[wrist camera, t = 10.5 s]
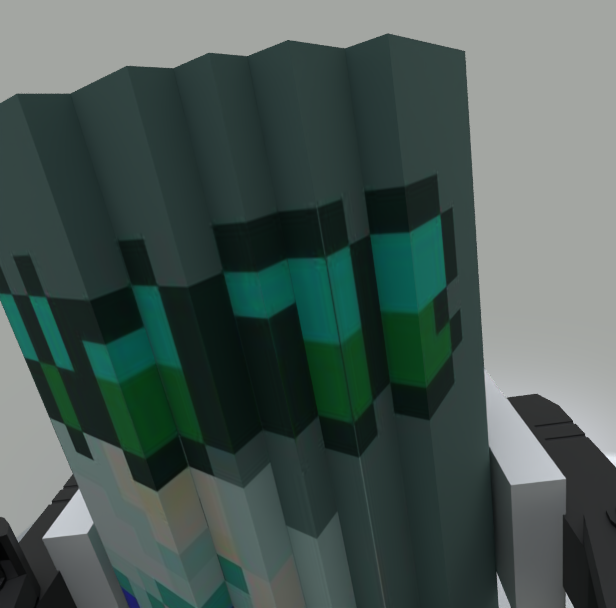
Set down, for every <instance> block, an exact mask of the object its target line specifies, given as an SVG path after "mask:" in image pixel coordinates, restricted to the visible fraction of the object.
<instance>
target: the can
mask: <svg viewBox="0 0 616 608" xmlns="http://www.w3.org/2000/svg"><path fill="white" fill-rule="evenodd" d="M0 301H1V303H2V306H3V308H4V310H5V313H6V315H7V317H8V320H9V322H10V325H11V327H12V329H13V332H14V334H15V337H16V339H17V341H18V343H19V346H20V348H21V351H22V353H23V356H24V358H25V360H26V363H27V365H28V368H29V370H30V372H31V375H32V377H33V379H34V382H35V384H36V387H37V389H38V391H39V394H40V396H41V399H42V401H43V403H44V406H45V408H46V410H47V413H48V415H49V417H50V420H51V422H52V425H53V427H54V430H55V432H56V434H57V437H58V439H59V441H60V444H61V446H62V449H63V451H64V453H65V456H66V458H67V461H68V463H69V465H70V468H71V470H72V472H73V475H74V477H75V480H76V482H77V484H78V487H79V489H80V492H81V494H82V496H83V499H84V501H85V503H86V506H87V508H88V511H89V513H90V515H91V518H92V520H93V523H94V525H95V527H96V530H97V532H98V534H99V537H100V539H101V542H102V544H103V546H104V549H105V551H106V554H107V556H108V558H109V561H110V563H111V565H112V568H113V570H114V573H115V575H116V577H117V580H118V582H119V585H120V587H121V589H122V592H123V594H124V596H125V599H126V601H127V604H128V606H129V608H499V607H498V590H497V574H496V557H495V541H494V524H493V507H492V491H491V474H490V458H489V441H488V425H487V408H486V391H485V375H484V359H483V342H482V326H481V309H480V293H479V275H478V260H477V243H476V226H475V209H474V193H473V177H472V160H471V143H470V127H469V110H468V93H467V77H466V61H465V51H462V50H458V49H453V48H449V47H444V46H440V45H436V44H431V43H427V42H422V41H418V40H414V39H410V38H405V37H401V36H396V35H392V34H385V35H382V36H380V37H376V38H374V39H371V40H368V41H365V42H362V43H360V44H356V45H354V46H351V47H348V48H338V47H331V46H324V45H317V44H310V43H304V42H297V41H290V40H287V41H285V42H282V43H280V44H277V45H275V46H272V47H270V48H267V49H265V50H262V51H259V52H257V53H254V54H252V55H249V56H238V55H227V54H215V53H207V54H205V55H203V56H200V57H198V58H196V59H194V60H191V61H189V62H187V63H184V64H182V65H180V66H178V67H175V68H157V67H136V66H126V67H124V68H122V69H120V70H118V71H116V72H113V73H111V74H109V75H107V76H105V77H103V78H101V79H99V80H97V81H95V82H93V83H91V84H89V85H87V86H85V87H83V88H81V89H79V90H77V91H75V92H73V93H71V94H16V95H14V96H12V97H11V98H9V99H7V100H5V101H3V102H2V103H0Z"/></svg>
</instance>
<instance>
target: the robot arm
mask: <svg viewBox="0 0 616 608" xmlns="http://www.w3.org/2000/svg"><path fill="white" fill-rule="evenodd" d="M484 375H485V391H486V408H487V425H488V441H489V458H490V474H491V491H492V507H493V524H494V541H495V557H496V571H497V574H498V576H499V579H500V581H501V584H502V586H503V589H504V591H505V594H506V596H507V599H508V601H509V603H510V606H511V608H565V596H566V593H567V595H568V597H569V599H570V601H571V602H572V604H573V606H574V608H616V467H615V466H614V465H613V464H612V463H611V462H610V461H609V459H608V458H607V457H606V456H605V455H604V454H603V453H602V452H601V451H600V450H599V449H598V447H597V446H596V445H595V444H594V443H593V442H592V441H591V440H590V439H589V438H588V437H586V436H585V433H584V432H583V431H582V430H581V429H580V428H579V427H578V426H577V425H576V424H574V423H573V420H572V419H571V418H570V417H569V416H568V415H567V414H566V413H565V412H564V411H563V410H562V409H561V407H560V406H559V405H557V404H555V403H553V402H551V401H550V400H548V399H546V398H544V397H542V396H540V395H538V394H531V395H524V396H516V397H509V398H506V397H505V396H504V394H503V393H502V391H501V390H500V388H499V387H498V386H497V384H496V383H495V382H494V380H493V379H492V378H491V376H490V375H489V374H488V372H487V371H486V369H485V368H484ZM0 608H129V606H128V604H127V601H126V599H125V596H124V594H123V592H122V589H121V587H120V585H119V582H118V580H117V577H116V575H115V573H114V570H113V568H112V565H111V563H110V561H109V558H108V556H107V554H106V551H105V549H104V546H103V544H102V542H101V539H100V537H99V534H98V532H97V530H96V527H95V525H94V523H93V520H92V518H91V515H90V513H89V511H88V508H87V506H86V503H85V501H84V499H83V496H82V494H81V492H80V489H79V487H78V484H77V482H76V480H75V477H74V475H72V476H71V477H70V479H69V480H68V481H67V483H66V484H65V485H64V488H63V490H60V491H59V493H58V494H57V495H56V496H55V498H54V499H53V500H52V504H51V505H48V507H47V508H46V509H45V511H44V512H43V513H42V514H41V515H40V517H39V518H38V519H37V520H36V522H35V523H34V524H33V526H32V527H31V528H30V529H29V531H28V532H27V533H26V534H25V536H24V537H23V538H22V539H21V541H20V542H19V543H18V541H17V539H16V537H15V535H14V533H13V531H12V529H11V527H10V525H9V523H8V522H7V521H6V520H5V518H2V517H0Z"/></svg>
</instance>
